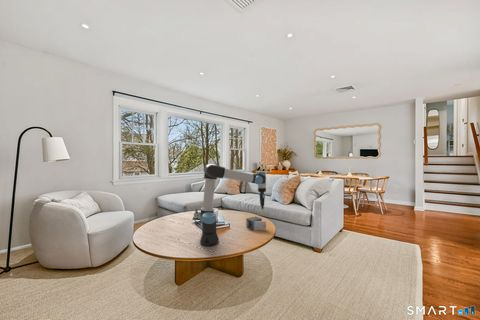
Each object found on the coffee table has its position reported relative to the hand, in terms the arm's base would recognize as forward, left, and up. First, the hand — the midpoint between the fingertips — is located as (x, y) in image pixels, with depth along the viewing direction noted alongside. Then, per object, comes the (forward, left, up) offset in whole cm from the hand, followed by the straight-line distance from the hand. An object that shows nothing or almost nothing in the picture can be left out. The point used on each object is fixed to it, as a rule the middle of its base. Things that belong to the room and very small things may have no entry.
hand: (262, 211), depth 201 cm
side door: (-5, -1, -17) cm, 17 cm away
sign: (-35, +55, -17) cm, 67 cm away
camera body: (-5, +8, -17) cm, 19 cm away
